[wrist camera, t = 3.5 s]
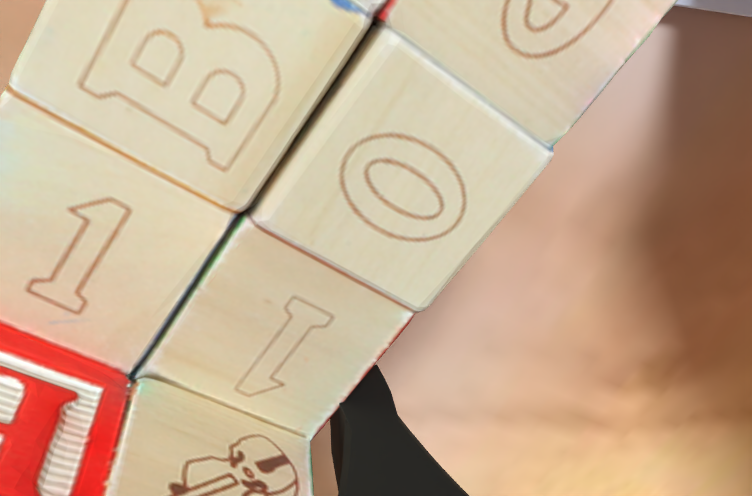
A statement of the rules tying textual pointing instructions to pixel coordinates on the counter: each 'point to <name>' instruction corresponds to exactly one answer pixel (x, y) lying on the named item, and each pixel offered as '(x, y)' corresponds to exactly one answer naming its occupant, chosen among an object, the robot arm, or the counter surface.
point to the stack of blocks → (254, 215)
